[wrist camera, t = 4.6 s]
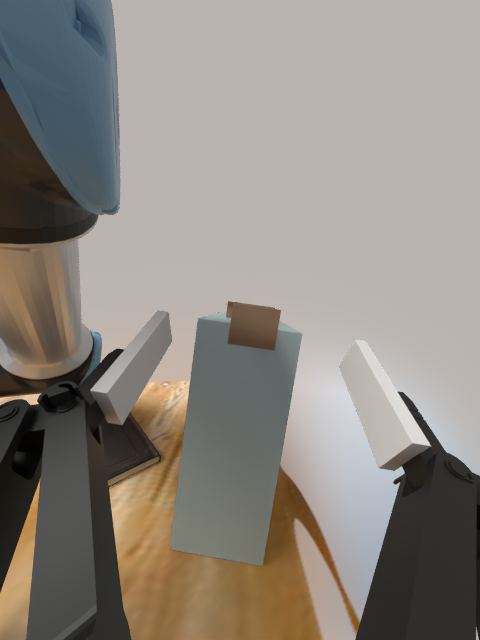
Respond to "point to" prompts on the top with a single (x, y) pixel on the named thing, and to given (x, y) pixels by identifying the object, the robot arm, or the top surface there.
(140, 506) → the top surface
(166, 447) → the top surface
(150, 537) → the top surface
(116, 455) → the hardcover book
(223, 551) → the stand
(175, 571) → the top surface
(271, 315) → the brown tapered block
